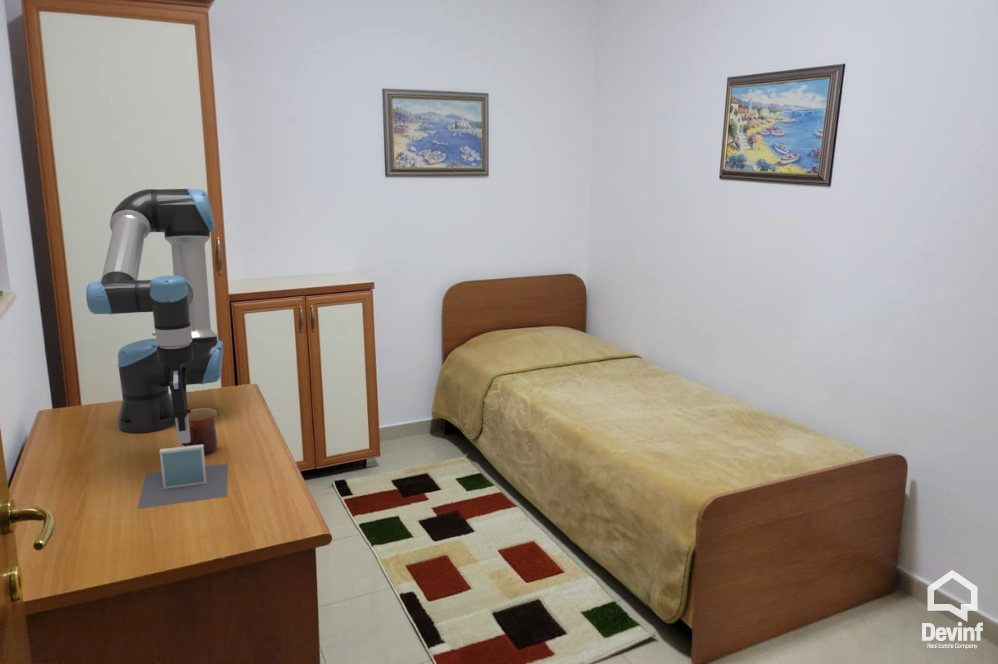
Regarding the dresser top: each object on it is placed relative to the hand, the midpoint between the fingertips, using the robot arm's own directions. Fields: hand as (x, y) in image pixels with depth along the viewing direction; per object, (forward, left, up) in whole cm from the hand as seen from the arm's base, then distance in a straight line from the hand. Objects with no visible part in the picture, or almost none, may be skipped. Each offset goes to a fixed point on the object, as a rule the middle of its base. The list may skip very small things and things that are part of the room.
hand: (184, 441), depth 170 cm
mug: (-11, +2, -8) cm, 14 cm away
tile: (+7, 0, -8) cm, 10 cm away
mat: (+7, 0, -8) cm, 11 cm away
